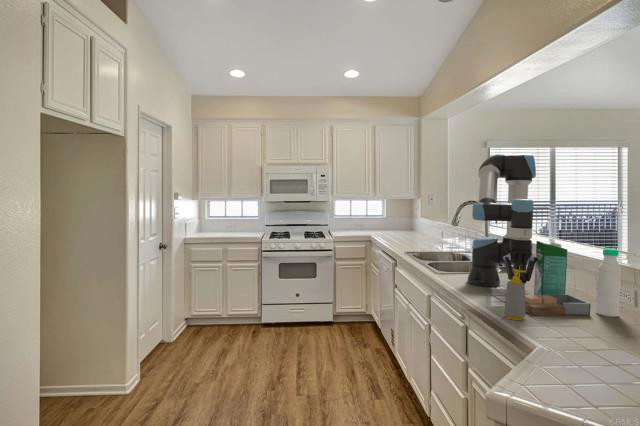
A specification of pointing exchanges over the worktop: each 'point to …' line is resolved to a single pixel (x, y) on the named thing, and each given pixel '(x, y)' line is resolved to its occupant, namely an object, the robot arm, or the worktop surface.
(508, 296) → the soap bottle
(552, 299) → the tile
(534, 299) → the tile
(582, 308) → the tray
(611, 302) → the water bottle
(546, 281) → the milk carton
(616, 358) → the worktop surface
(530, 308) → the walnut board
